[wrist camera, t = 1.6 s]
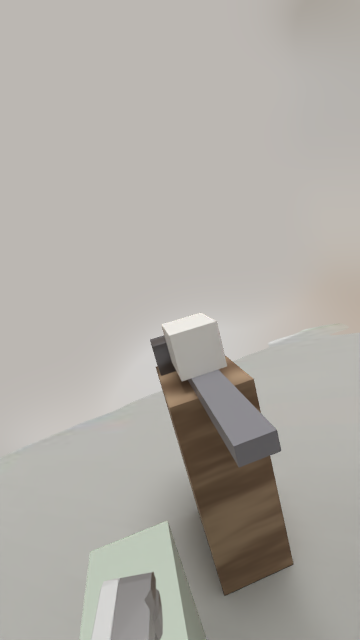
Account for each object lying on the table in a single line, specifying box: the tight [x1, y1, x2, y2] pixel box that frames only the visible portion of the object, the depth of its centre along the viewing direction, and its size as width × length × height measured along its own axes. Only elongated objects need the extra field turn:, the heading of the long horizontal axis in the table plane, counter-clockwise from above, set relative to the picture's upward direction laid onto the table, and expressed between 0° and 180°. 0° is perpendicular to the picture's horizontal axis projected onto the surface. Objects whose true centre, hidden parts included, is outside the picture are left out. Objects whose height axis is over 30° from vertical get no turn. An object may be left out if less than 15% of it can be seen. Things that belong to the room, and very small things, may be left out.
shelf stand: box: [150, 336, 293, 595], centre depth 35 cm, size 12×9×29 cm
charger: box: [162, 313, 281, 467], centre depth 25 cm, size 17×5×7 cm, turn 12°
